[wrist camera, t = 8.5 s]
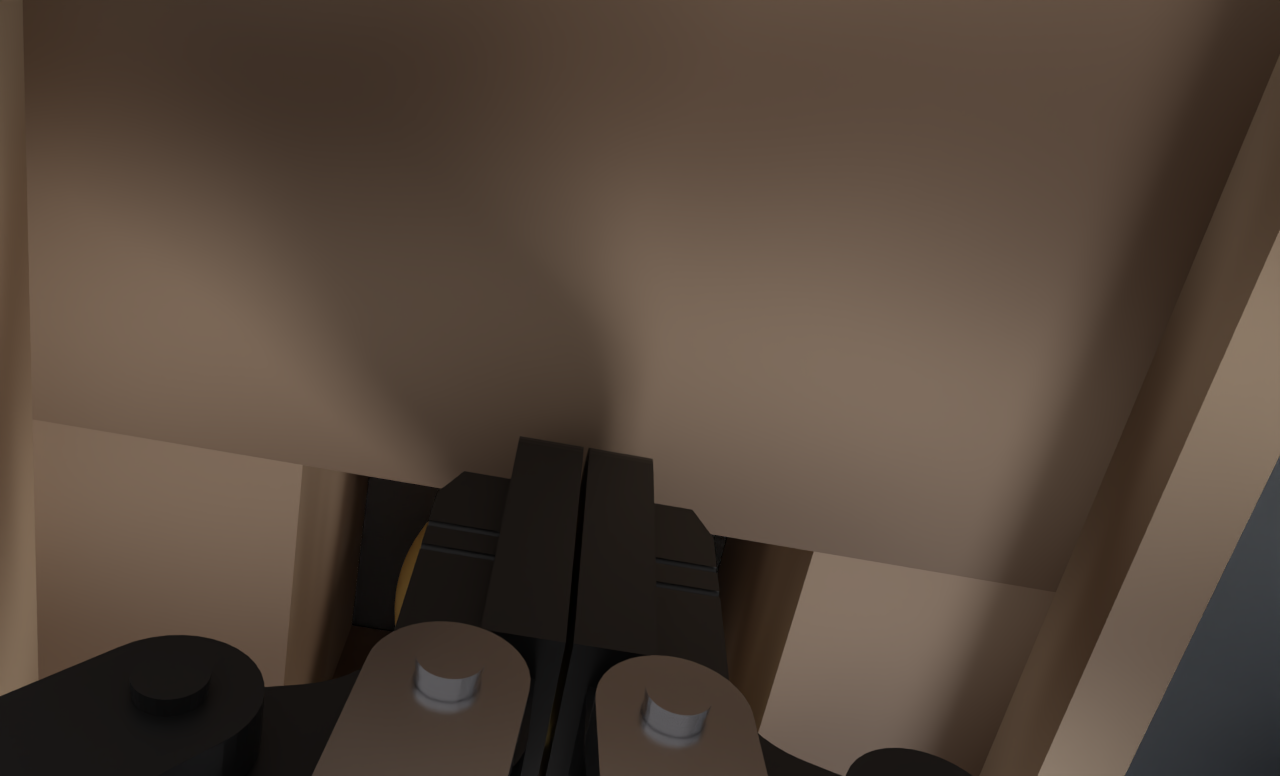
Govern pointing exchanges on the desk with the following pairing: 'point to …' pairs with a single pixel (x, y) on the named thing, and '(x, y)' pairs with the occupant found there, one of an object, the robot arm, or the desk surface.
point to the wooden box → (657, 327)
